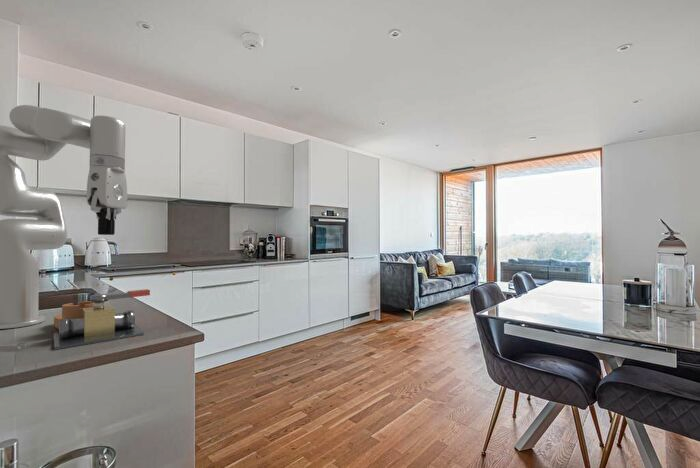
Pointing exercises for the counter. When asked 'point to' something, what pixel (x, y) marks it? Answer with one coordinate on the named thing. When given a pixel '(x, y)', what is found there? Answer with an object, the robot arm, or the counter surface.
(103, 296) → the lever
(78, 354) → the counter surface
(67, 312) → the bracket
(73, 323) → the valve
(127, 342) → the counter surface
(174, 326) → the counter surface
